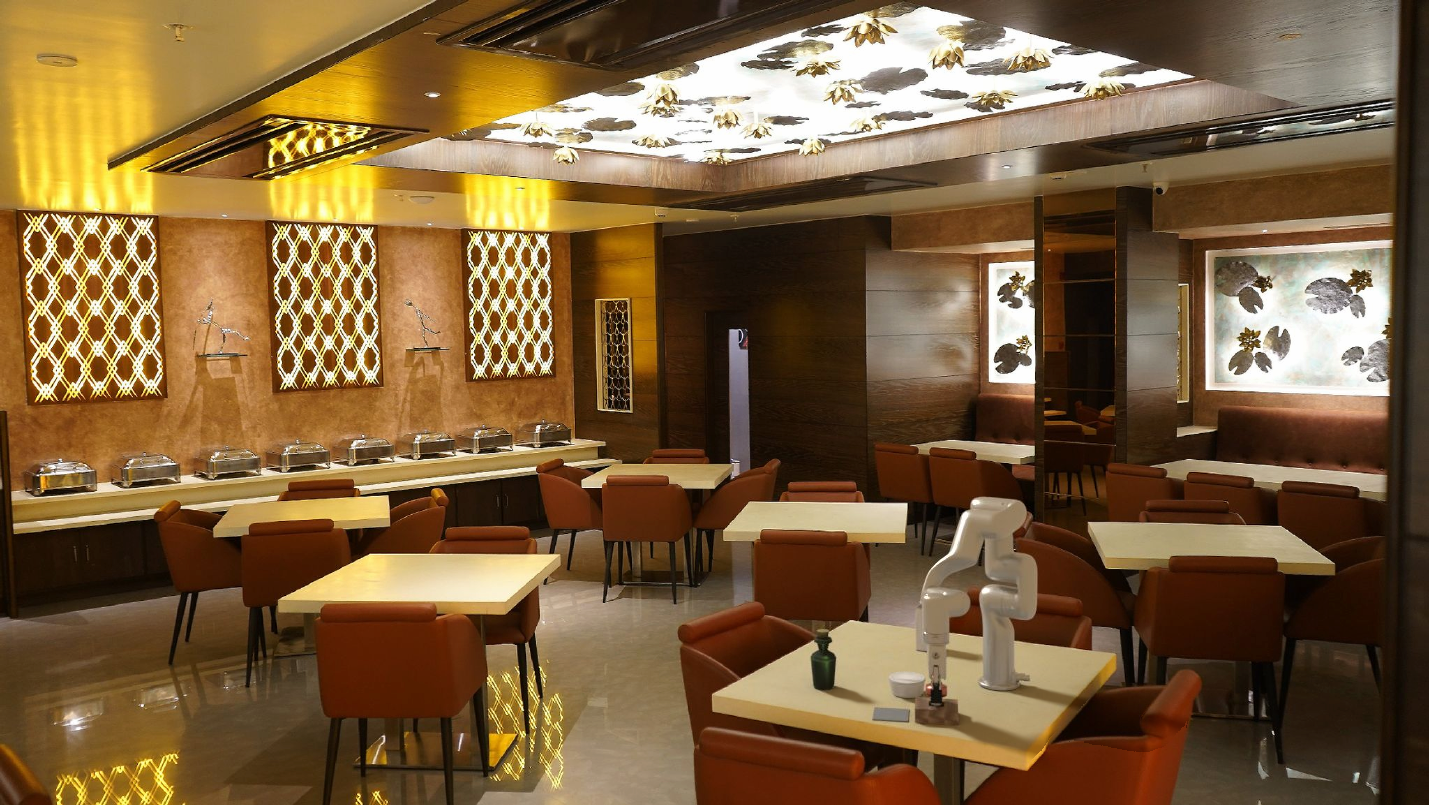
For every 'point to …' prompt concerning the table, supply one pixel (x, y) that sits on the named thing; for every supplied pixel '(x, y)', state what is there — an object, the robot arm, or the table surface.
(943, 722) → the eye block
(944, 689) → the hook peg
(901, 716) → the slate mat
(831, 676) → the potion bottle
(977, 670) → the table surface
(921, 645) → the milk carton
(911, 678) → the ramekin
